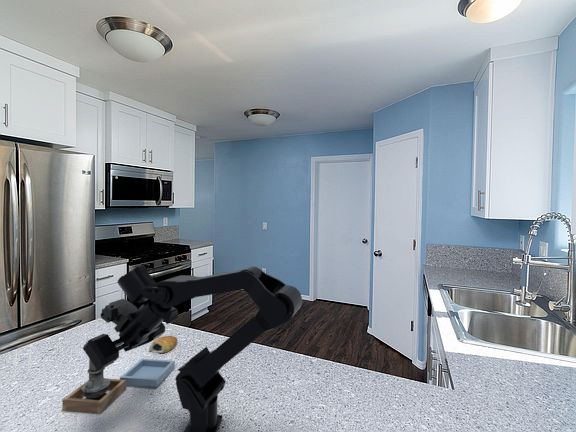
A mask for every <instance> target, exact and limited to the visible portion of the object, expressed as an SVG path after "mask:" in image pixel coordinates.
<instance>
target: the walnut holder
mask: <svg viewBox="0 0 576 432" xmlns="http://www.w3.org/2000/svg"><path fill="white" fill-rule="evenodd" d="M105 378H106V377H105ZM106 379H109V380H110V384H109V387H108V389H107V391H109V392H106V393H107V394H106V395H105V396H104V397H103V398H102V399H101V400H90V399H86V398H84V397H85V396H84V394H83V391H82V390H81V388H82V386H83V385H84V384H86V383H87V382H88V380H87V381H85V382H84V383H83V384H82V385H80V386H79V387H78V388H76V389H75V390H73V391H72V392H71V393H69V394H68V395H66V396H65V397H64V398H63V399H62V401H61V402H62V404H61V405H62V412H63V411H64V412H77V413H87V414H99V415H101V414H102V413H103V412H104V411H105V410H106V409H107V408H109V406H110V405H111V404H112V403H114V402H115V400H117V399H118V398H119V397H120V396H121V395H122V394H123V393H124V392H126V390H127V386H126V380H121V379H120V378H118V379H116V378H106Z"/></svg>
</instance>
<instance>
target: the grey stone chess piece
mask: <svg viewBox="0 0 576 432" xmlns="http://www.w3.org/2000/svg"><path fill="white" fill-rule="evenodd" d="M88 360H89V361H88V362H89V363H88V369H87V371H86V372H87V374H88V380H87V381H88V382H87V381H86V382H87V383H86V384H84V383H83V384H84V385H83V384H82V385H83V386H82V388H81V390H82V391H83V394H84V397H85V399H90V400H101V399H102V398H103V397H104V396H105V395H106V394H107V393H108V392H107V391H108V390H107V389H108V387H109V384H110V380H109V379H110V378H107V379H106V377H105V376H104V370H105V369H106V367H105V368H103V369H101V370H98V369H95V370H91V369H90V367H89V366H90V362H91V360H90V359H89V358H88Z"/></svg>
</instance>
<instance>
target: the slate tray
mask: <svg viewBox="0 0 576 432" xmlns="http://www.w3.org/2000/svg"><path fill="white" fill-rule="evenodd" d="M175 362H176V361H175V360H168V359H167V360H166V359H153V358H141V359H139V360H138V361H137V362H136V363H135V364H134V365H133V366H131V367H130V368H129V369H128V370H127V371H126V372H125V373H123V374H122V375H120V377H119V379H121V380H126V387H130V386H135V388H144V387H145V389H158V388H159V386H160V385H161V384H162V383H164V381H165V380H166V378H168V376H170V374H171V373H172V372H173V371H174V369H175V368H176V366H175V365H176V363H175Z"/></svg>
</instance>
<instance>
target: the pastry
mask: <svg viewBox="0 0 576 432" xmlns="http://www.w3.org/2000/svg"><path fill="white" fill-rule="evenodd" d="M177 344H178V337H177V336H173V335H165V336H160V337H158V338H156V339H155V340H153V341H152V343H151V344H150V346H149V348H148V349H149V350H148V351H150V353H155V354H156V353H157V354H165V353H168V352H170V351H171V350H173V349H174V348H175V346H176V345H177Z"/></svg>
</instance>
